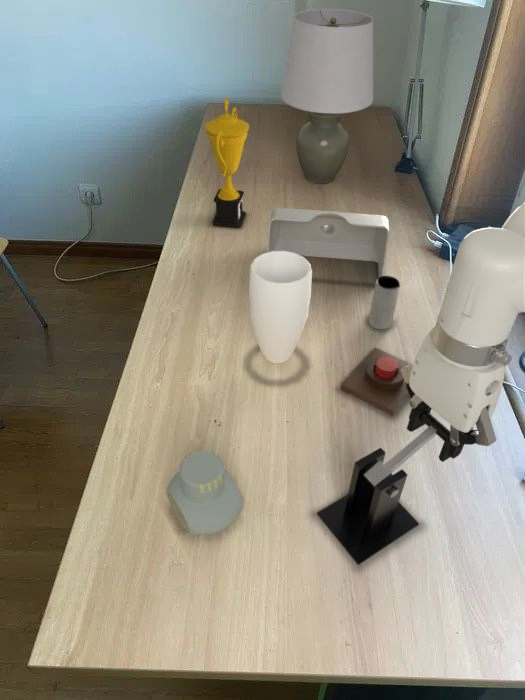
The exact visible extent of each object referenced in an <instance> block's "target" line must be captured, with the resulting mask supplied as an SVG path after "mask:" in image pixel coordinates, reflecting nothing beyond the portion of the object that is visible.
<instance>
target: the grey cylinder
mask: <svg viewBox="0 0 525 700" xmlns="http://www.w3.org/2000/svg"><path fill="white" fill-rule="evenodd" d="M400 289H401V282H400V280H399V279H398V278H396V277H394V276H390V275H383V276H381V277H379V276H378V277H377V278H376V280H375V283H374V288H373V295H372V300H371V303H370V310H369V316H368V325H370V326H371V327H373V328H375V329H377V330H386V329H390V328H391V326H392V325H393V324H392V323H393V320H394V315H395V310H396V305H397V301H398V297H399V293H400Z"/></svg>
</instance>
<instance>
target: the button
mask: <svg viewBox="0 0 525 700" xmlns="http://www.w3.org/2000/svg"><path fill="white" fill-rule="evenodd" d="M397 368H398V364H397V362H396V361H395V360H394V359H392V358H390V357H381V358H379V359H378V360H377V362H376V367H375V372H376V374H377V375H378V376H380V377H382V378H387V379H389V378H392V377H394V376H395V375H396V372H397Z"/></svg>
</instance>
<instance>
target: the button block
mask: <svg viewBox="0 0 525 700" xmlns="http://www.w3.org/2000/svg"><path fill="white" fill-rule="evenodd" d="M381 357H390V358H392V359H394V360H395V361H396V362H397V364H398V368H397V372H396V375H395V376H394V377H392V378H389V379H387V378H382V377H380V376H378V375H377V374H376V372H375V367H376V362H377V360H378V359H379V358H381ZM410 364H411V363H410V362H408V361H405V360H403V359H401V358H399V357H397V356H395V355H393V354H390V353H388V352H386V351H385V350H382V349H380V348H378V347H374V348H373V349H372V350H371V351H370V352H369V354H368V355H367V356H366V357H365V358H364V359H363V360H362V361H361V362H360V363H359V364H358V366H357V367H355V369H353V371H352V372H351V373H350V374H349V375H348V377H346V379H345V380H344V381H343V382H342V383H341V384H340V385H341V386H340V391H342V392H344V393H346V394H348V395H351V396H352V397H355V398H357V399H359V400H361V401H363V402H365V403H367V404H369V405H370V406H372V407H374V408H376V409H378V410H380V411H381V412H384V413H386V414H388V415H390V416H392V417H393V416H394V415H396V413H397V411H398V410H399V409H400V408H401V406H402V405H403V403H405V401H406V400H407V398H409V397H410V395H409V393H408V390H407V387H406V385H407V382H405V380H404V378H403V376H402V374H401V368H403V367H405V366H407V365H410Z"/></svg>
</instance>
